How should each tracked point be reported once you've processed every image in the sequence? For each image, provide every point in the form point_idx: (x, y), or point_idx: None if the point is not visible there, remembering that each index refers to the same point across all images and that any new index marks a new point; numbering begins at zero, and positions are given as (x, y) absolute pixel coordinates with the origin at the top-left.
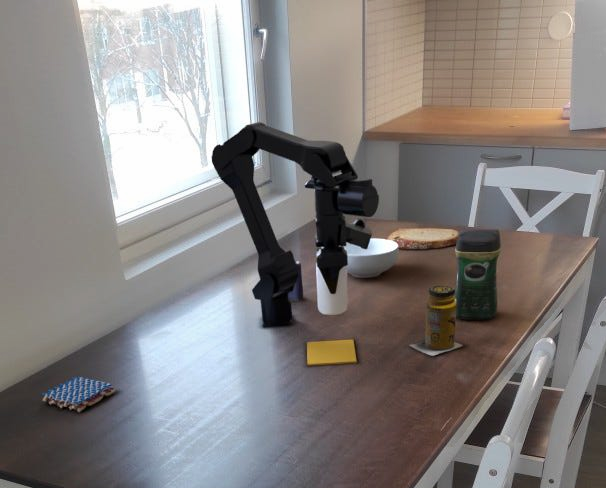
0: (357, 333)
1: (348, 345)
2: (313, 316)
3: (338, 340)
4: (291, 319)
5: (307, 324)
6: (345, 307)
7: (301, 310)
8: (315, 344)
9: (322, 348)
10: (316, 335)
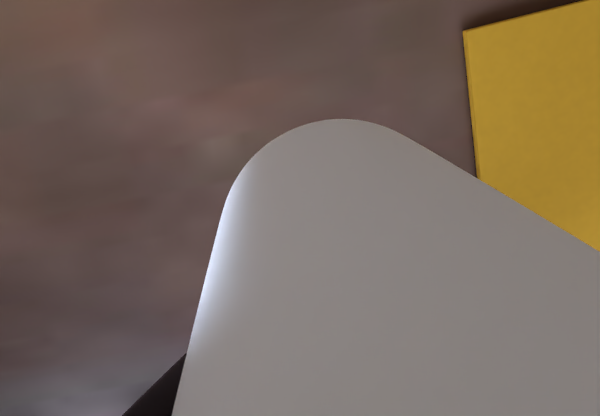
0: (331, 28)
1: (567, 42)
2: (107, 315)
3: (478, 121)
4: None
5: None
6: (388, 129)
7: (43, 378)
8: None
9: (592, 186)
10: None
